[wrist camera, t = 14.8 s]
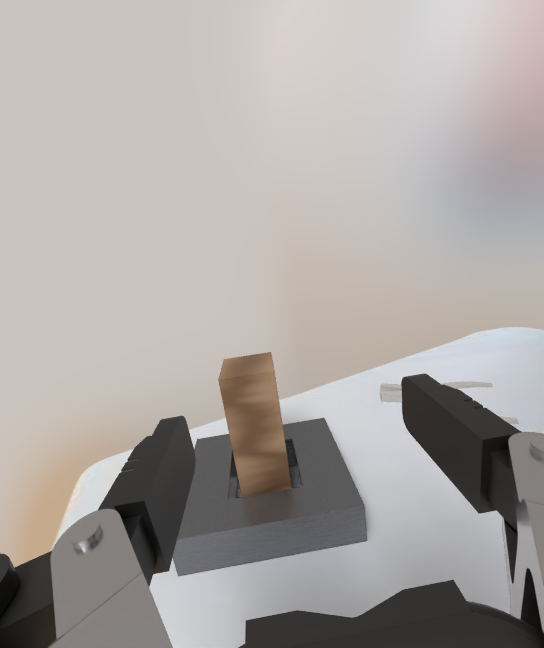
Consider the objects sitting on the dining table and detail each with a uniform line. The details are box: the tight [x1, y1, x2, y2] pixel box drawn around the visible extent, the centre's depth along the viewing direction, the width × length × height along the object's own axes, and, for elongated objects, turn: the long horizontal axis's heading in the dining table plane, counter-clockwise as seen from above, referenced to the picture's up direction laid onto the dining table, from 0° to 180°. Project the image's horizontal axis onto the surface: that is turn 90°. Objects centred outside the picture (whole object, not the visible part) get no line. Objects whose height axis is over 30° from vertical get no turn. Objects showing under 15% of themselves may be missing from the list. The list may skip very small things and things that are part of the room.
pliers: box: [380, 382, 518, 424], centre depth 40 cm, size 10×2×15 cm
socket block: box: [173, 418, 367, 576], centre depth 27 cm, size 15×12×4 cm
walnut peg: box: [219, 352, 292, 497], centre depth 26 cm, size 4×4×14 cm
